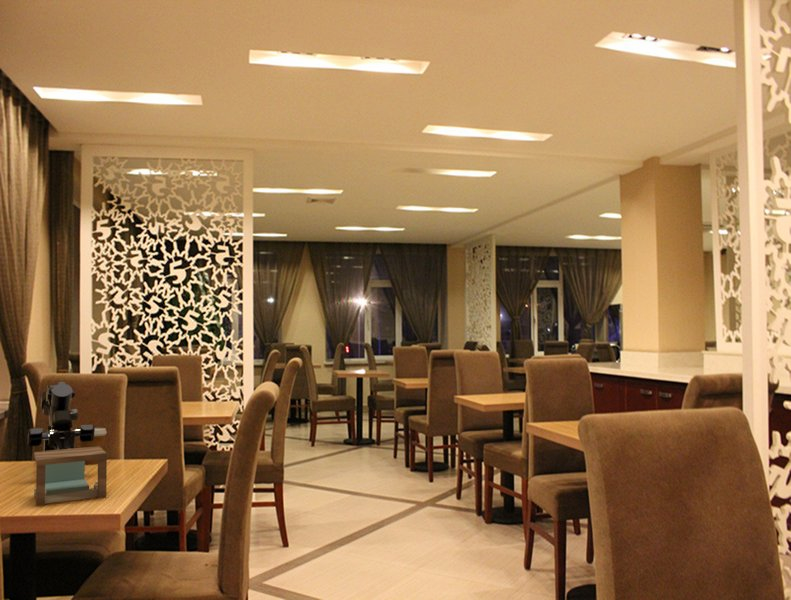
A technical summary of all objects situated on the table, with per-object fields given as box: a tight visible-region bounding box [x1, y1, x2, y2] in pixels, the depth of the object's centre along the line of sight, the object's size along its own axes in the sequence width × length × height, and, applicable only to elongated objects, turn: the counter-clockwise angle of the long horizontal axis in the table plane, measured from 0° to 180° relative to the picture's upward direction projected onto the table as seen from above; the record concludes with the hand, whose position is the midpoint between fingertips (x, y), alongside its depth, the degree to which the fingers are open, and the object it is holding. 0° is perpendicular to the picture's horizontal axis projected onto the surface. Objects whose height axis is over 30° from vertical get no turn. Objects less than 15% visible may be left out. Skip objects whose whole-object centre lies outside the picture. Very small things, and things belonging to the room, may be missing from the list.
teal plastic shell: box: [45, 461, 90, 495], centre depth 195 cm, size 14×11×9 cm
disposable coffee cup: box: [78, 427, 108, 466], centre depth 239 cm, size 10×10×12 cm
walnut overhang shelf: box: [33, 446, 108, 507], centre depth 185 cm, size 16×17×12 cm
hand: (62, 456), depth 206 cm, fingers closed
